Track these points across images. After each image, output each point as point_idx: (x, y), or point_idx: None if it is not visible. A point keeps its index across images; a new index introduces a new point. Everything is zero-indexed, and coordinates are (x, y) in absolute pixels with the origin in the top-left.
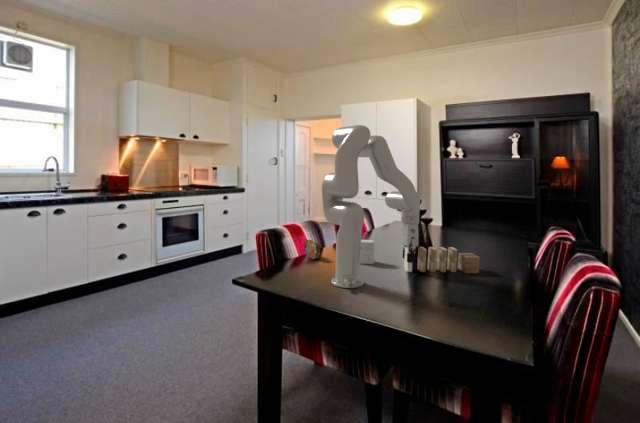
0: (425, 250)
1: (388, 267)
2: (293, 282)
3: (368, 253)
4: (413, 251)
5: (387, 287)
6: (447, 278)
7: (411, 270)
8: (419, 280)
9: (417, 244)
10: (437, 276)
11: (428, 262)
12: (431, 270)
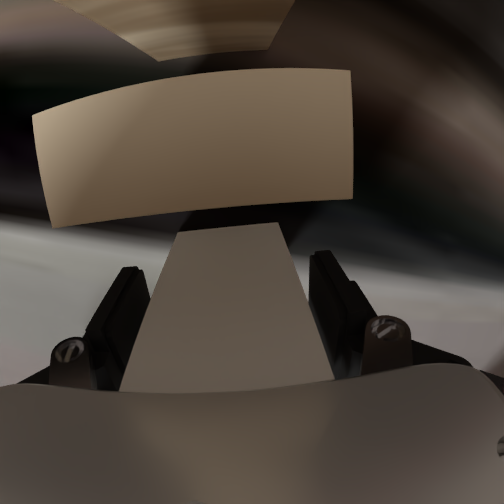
0: (339, 99)
1: None
2: None
3: None
4: (433, 362)
5: (487, 359)
6: (433, 12)
7: (279, 230)
8: (468, 219)
9: (500, 404)
10: (399, 52)
11: (167, 42)
12: (269, 44)
